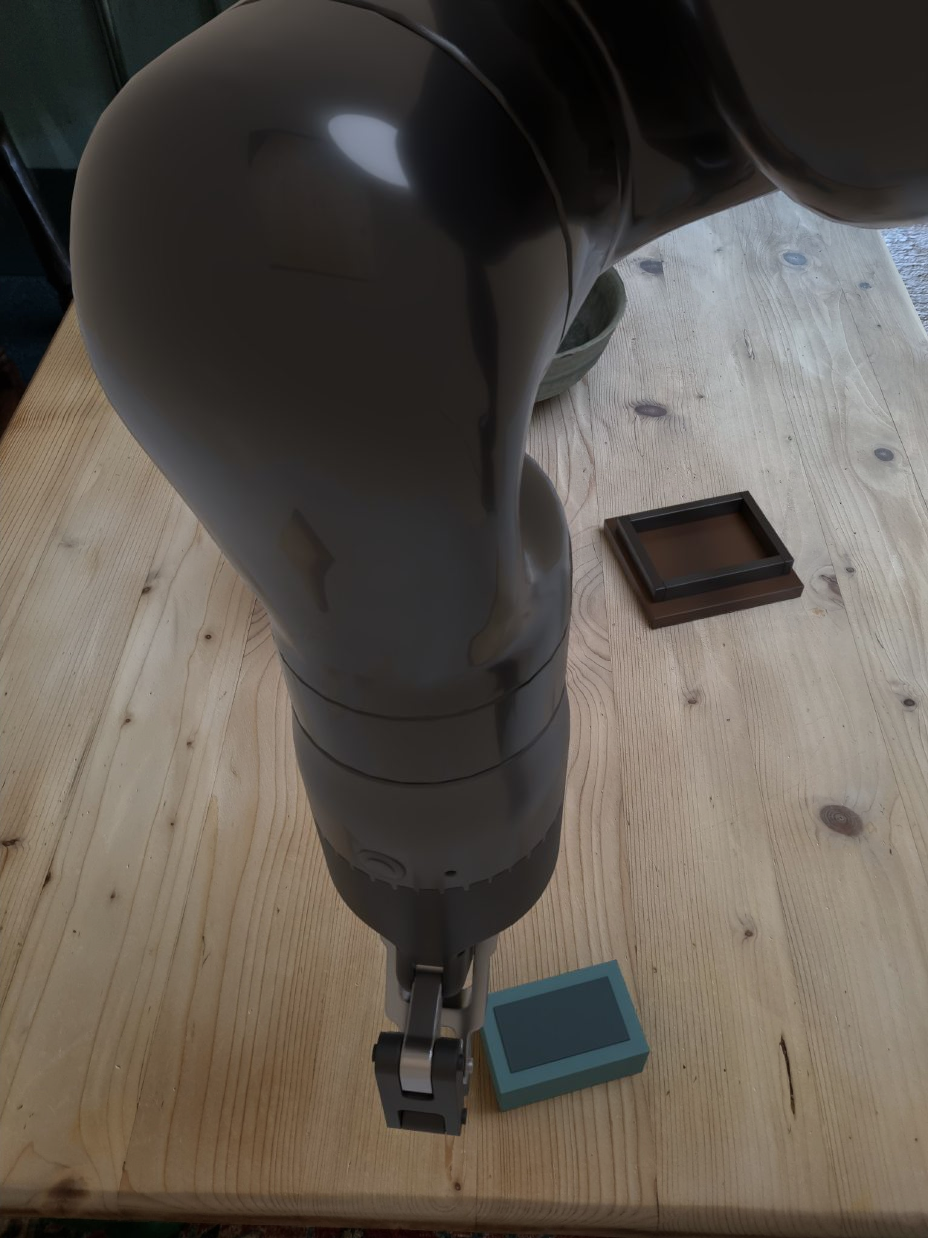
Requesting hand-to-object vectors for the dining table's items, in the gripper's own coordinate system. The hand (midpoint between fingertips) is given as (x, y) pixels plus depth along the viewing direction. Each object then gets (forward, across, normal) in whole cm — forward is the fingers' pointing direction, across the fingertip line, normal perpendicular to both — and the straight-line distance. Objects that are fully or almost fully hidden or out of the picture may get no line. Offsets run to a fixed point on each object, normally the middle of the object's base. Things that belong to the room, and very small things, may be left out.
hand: (455, 974), depth 41 cm
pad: (+16, +3, -5) cm, 17 cm away
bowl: (+16, +63, +3) cm, 65 cm away
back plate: (+16, +41, -14) cm, 46 cm away
